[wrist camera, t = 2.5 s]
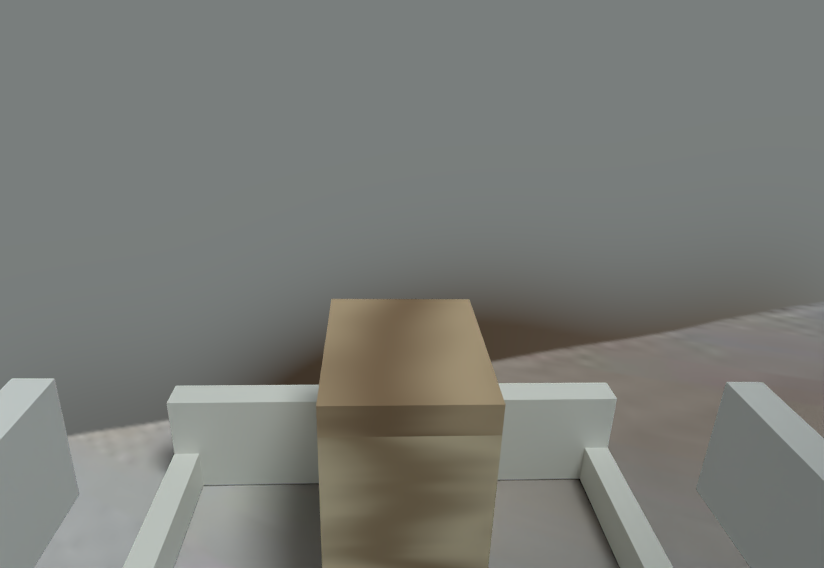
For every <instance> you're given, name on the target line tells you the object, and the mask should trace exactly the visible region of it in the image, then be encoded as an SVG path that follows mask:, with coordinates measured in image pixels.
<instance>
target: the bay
mask: <svg viewBox="0 0 824 568" xmlns="http://www.w3.org/2000/svg"><path fill="white" fill-rule="evenodd" d="M498 384H499V387H500V390H501V393H502V396H503V399H504V401H505V404H506V405H505V414H504V424H503V433H502V442H501V452H500V461H499V470H498V480H526V479H580V480H581V483H582V485H583V487H584V489H585V491H586V494H587V496H588V498H589V500H590V502H591V505H592V507H593V509H594V511H595V514H596V516H597V518H598V520H599V522H600V525H601V527H602V529H603V531H604V534H605V536H606V538H607V540H608V542H609V545H610V547H611V549H612V551H613V554H614V556H615V558H616V560H617V562H618V565H619V567H620V568H673V566H672V564H671V562H670V561H669V559H668V557H667V555H666V553H665V551H664V550H663V548H662V546H661V544H660V542H659V540H658V539H657V537H656V535H655V533H654V531H653V530H652V528H651V526H650V524H649V522H648V520H647V519H646V517H645V515H644V513H643V511H642V509H641V508H640V506H639V504H638V502H637V500H636V499H635V497H634V495H633V493H632V491H631V489H630V488H629V486H628V484H627V482H626V480H625V478H624V477H623V475H622V473H621V471H620V469H619V468H618V466H617V464H616V462H615V460H614V458H613V457H612V455H611V453H610V451H609V449H608V443H609V438H610V433H611V427H612V422H613V417H614V412H615V406H616V401H617V398H616V397H615V395H614V394H613V392H612V390H611V389H610V387H609V386H608V384H607V383H498ZM318 389H319V385H228V386H227V385H226V386H223V385H222V386H221V385H220V386H176V387H175V388H174V391H173V392H172V394H171V396H170V398H169V400H168V402H167V409H168V415H169V422H170V428H171V435H172V441H173V448H174V456H173V458H172V460H171V463H170V465H169V467H168V469H167V471H166V474H165V476H164V478H163V480H162V482H161V485H160V487H159V489H158V491H157V493H156V496H155V498H154V500H153V502H152V504H151V507H150V509H149V511H148V513H147V515H146V518H145V520H144V522H143V524H142V526H141V529H140V531H139V533H138V535H137V537H136V540H135V542H134V544H133V546H132V549H131V551H130V553H129V555H128V557H127V560H126V562H125V564H124V566H123V568H174V565H175V562H176V560H177V557H178V554H179V551H180V548H181V546H182V543H183V540H184V537H185V535H186V532H187V529H188V526H189V524H190V521H191V518H192V515H193V513H194V510H195V507H196V504H197V502H198V499H199V496H200V493H201V490H202V488H203V485H247V484H302V483H319V471H318V445H317V419H316V403H317V396H318Z"/></svg>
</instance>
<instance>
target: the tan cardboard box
mask: <svg viewBox="0 0 824 568" xmlns="http://www.w3.org/2000/svg"><path fill="white" fill-rule="evenodd" d="M505 405H506V404H505V401H504V399H503V396H502V393H501V390H500V387H499V384H498V381H497V378H496V375H495V373H494V370H493V367H492V364H491V361H490V358H489V355H488V352H487V350H486V346H485V344H484V341H483V338H482V335H481V332H480V329H479V326H478V323H477V321H476V317H475V315H474V312H473V309H472V306H471V303H470V300H469V299H332V300H331V307H330V313H329V320H328V328H327V334H326V341H325V348H324V355H323V362H322V369H321V376H320V382H319V389H318V396H317V403H316V419H317V445H318V471H319V498H320V524H321V550H322V568H488V563H489V554H490V545H491V535H492V526H493V517H494V508H495V498H496V489H497V480H498V470H499V461H500V452H501V442H502V433H503V424H504V414H505Z"/></svg>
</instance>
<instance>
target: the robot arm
mask: <svg viewBox="0 0 824 568" xmlns="http://www.w3.org/2000/svg"><path fill="white" fill-rule="evenodd" d="M696 490H697V491H698V493H699V494H700V496H701V497H702V498H703V500H704V501H705V503H706V504H707V506H708V507H709V509H710V510H711V511H712V513H713V514H714V516H715V517H716V519H717V520H718V521H719V523H720V524H721V526H722V527H723V529H724V530H725V532H726V533H727V534H728V536H729V537H730V539H731V540H732V542H733V543H734V545H735V546H736V547H737V549H738V550H739V552H740V553H741V555H742V556H743V558H744V559H745V560H746V562H747V563H748V565H749V566H750V568H824V438H823V437H821V436H820V435H819V434H818V433H817V432H816V431H815V430H814V429H813V428H812V427H811V426H810V425H808V424H807V423H806V422H805V421H804V420H803V419H802V418H801V417H800V416H799V415H798V414H797V413H795V412H794V411H793V410H792V409H791V408H790V407H789V406H788V405H787V404H786V403H785V402H784V401H782V400H781V399H780V398H779V397H778V396H777V395H776V394H775V393H774V392H773V391H772V390H770V389H769V388H768V387H767V386H766V385H765V384H764V383H763V382H726V385H725V389H724V392H723V396H722V399H721V403H720V406H719V410H718V413H717V417H716V421H715V424H714V428H713V431H712V435H711V438H710V442H709V445H708V449H707V452H706V456H705V459H704V463H703V466H702V470H701V473H700V477H699V480H698V484H697V488H696ZM78 496H79V490H78V485H77V481H76V476H75V471H74V467H73V462H72V457H71V453H70V448H69V443H68V439H67V434H66V429H65V425H64V420H63V415H62V411H61V406H60V401H59V397H58V392H57V387H56V383H55V379H28V378H26V379H25V378H23V379H19V378H12V379H11V380H10V381H9V382H8V383H7V384H6V385H5V386H4V387H3V388H2V389H1V390H0V568H34V567H35V565H36V563H37V562H38V560H39V559H40V557H41V555H42V554H43V552H44V550H45V549H46V547H47V546H48V544H49V542H50V541H51V539H52V538H53V536H54V534H55V533H56V531H57V530H58V528H59V526H60V525H61V523H62V521H63V520H64V518H65V517H66V515H67V513H68V512H69V510H70V509H71V507H72V505H73V504H74V502H75V500H76V499H77V497H78Z"/></svg>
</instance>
